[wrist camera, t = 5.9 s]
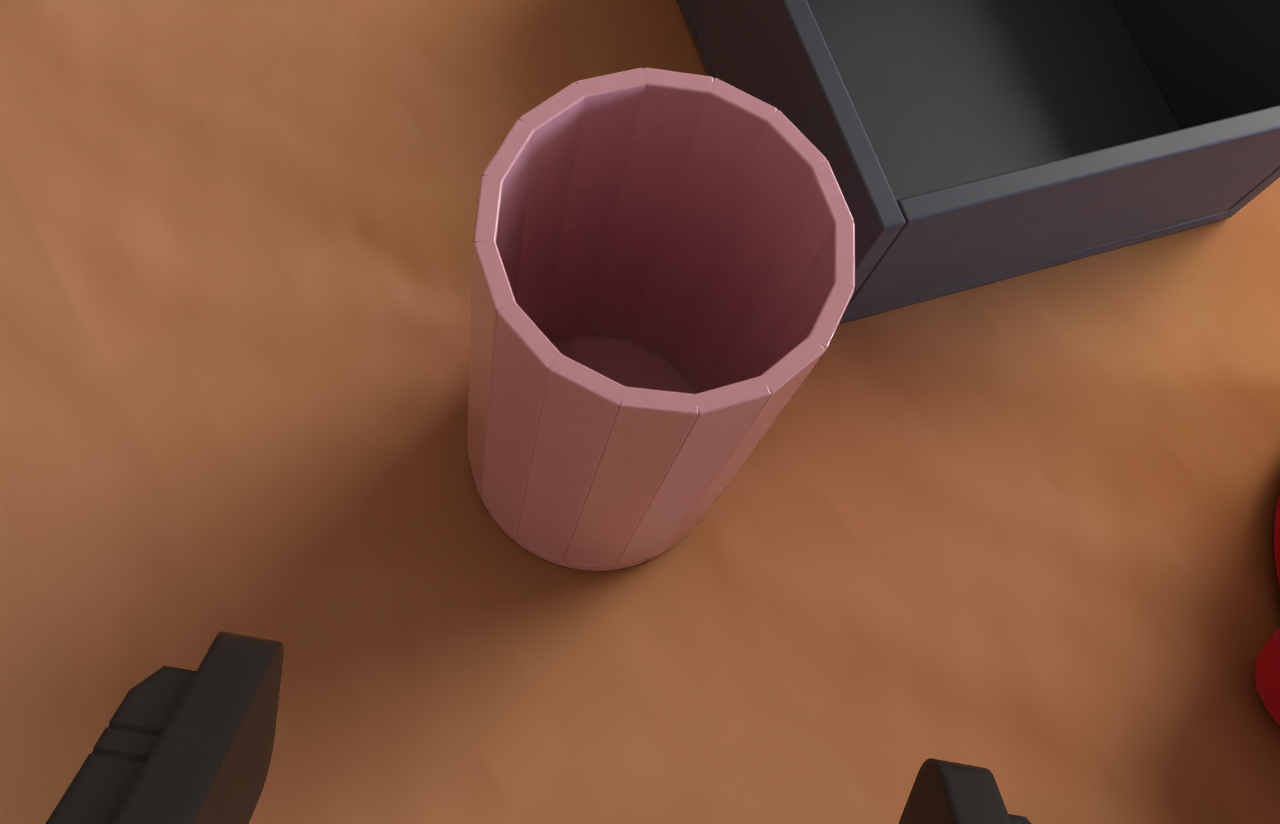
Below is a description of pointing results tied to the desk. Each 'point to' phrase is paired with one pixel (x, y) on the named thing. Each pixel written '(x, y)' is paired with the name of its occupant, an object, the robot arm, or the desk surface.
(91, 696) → the desk surface
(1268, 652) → the alarm clock
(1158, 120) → the tub
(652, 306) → the cup
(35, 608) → the desk surface
